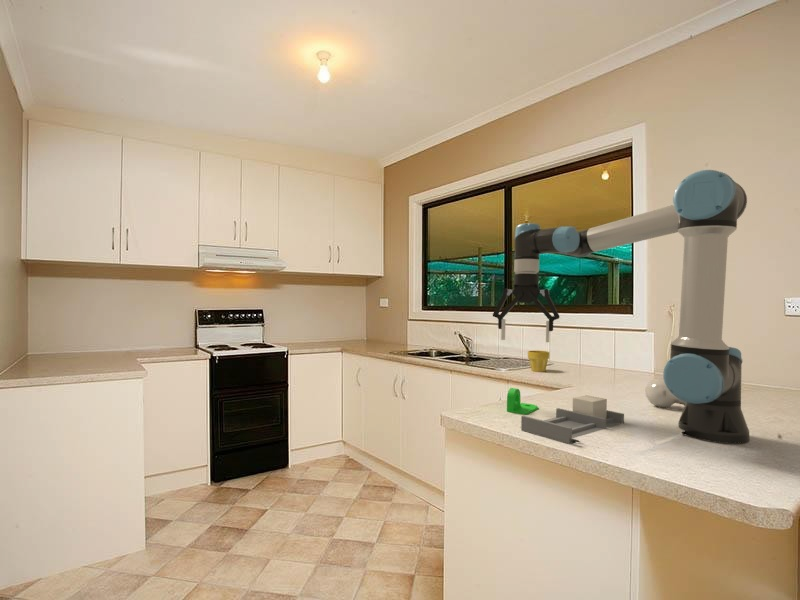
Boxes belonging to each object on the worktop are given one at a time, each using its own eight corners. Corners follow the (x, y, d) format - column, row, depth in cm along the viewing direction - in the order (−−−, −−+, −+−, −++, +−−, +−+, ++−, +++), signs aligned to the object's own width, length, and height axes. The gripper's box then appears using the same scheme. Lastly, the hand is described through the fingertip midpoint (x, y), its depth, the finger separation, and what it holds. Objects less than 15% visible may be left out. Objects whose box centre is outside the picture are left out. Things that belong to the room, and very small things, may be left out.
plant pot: (527, 371, 223) (527, 351, 223) (527, 369, 233) (527, 349, 233) (549, 373, 220) (549, 352, 220) (548, 370, 230) (549, 350, 230)
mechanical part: (526, 419, 132) (526, 391, 132) (506, 416, 135) (507, 389, 135) (540, 412, 141) (540, 386, 141) (521, 409, 145) (522, 383, 145)
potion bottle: (642, 407, 154) (694, 420, 146) (642, 395, 147) (697, 407, 139) (647, 383, 158) (698, 394, 150) (647, 370, 151) (701, 380, 143)
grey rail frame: (623, 427, 124) (624, 413, 124) (569, 444, 108) (569, 428, 108) (576, 416, 135) (577, 404, 135) (521, 430, 119) (521, 416, 120)
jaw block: (606, 420, 126) (606, 398, 126) (592, 424, 122) (593, 401, 122) (586, 416, 131) (586, 395, 131) (572, 419, 127) (572, 398, 127)
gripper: (568, 274, 142) (567, 341, 142) (489, 274, 152) (487, 337, 152) (568, 272, 135) (566, 343, 135) (484, 272, 145) (483, 339, 145)
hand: (524, 340), depth 144 cm, fingers open, 13 cm apart
